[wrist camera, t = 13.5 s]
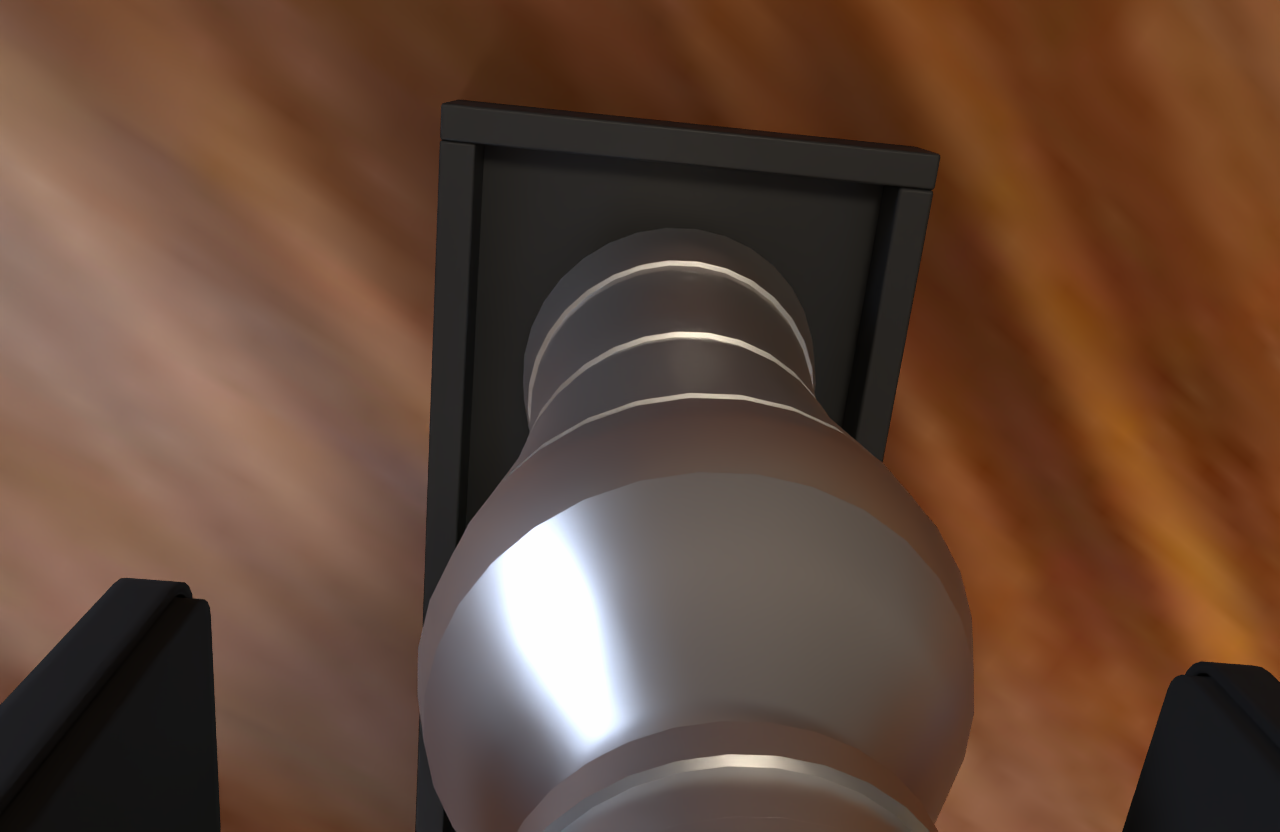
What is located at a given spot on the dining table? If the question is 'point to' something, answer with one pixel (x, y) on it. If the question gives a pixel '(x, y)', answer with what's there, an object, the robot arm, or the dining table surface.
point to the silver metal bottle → (692, 581)
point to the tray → (636, 202)
